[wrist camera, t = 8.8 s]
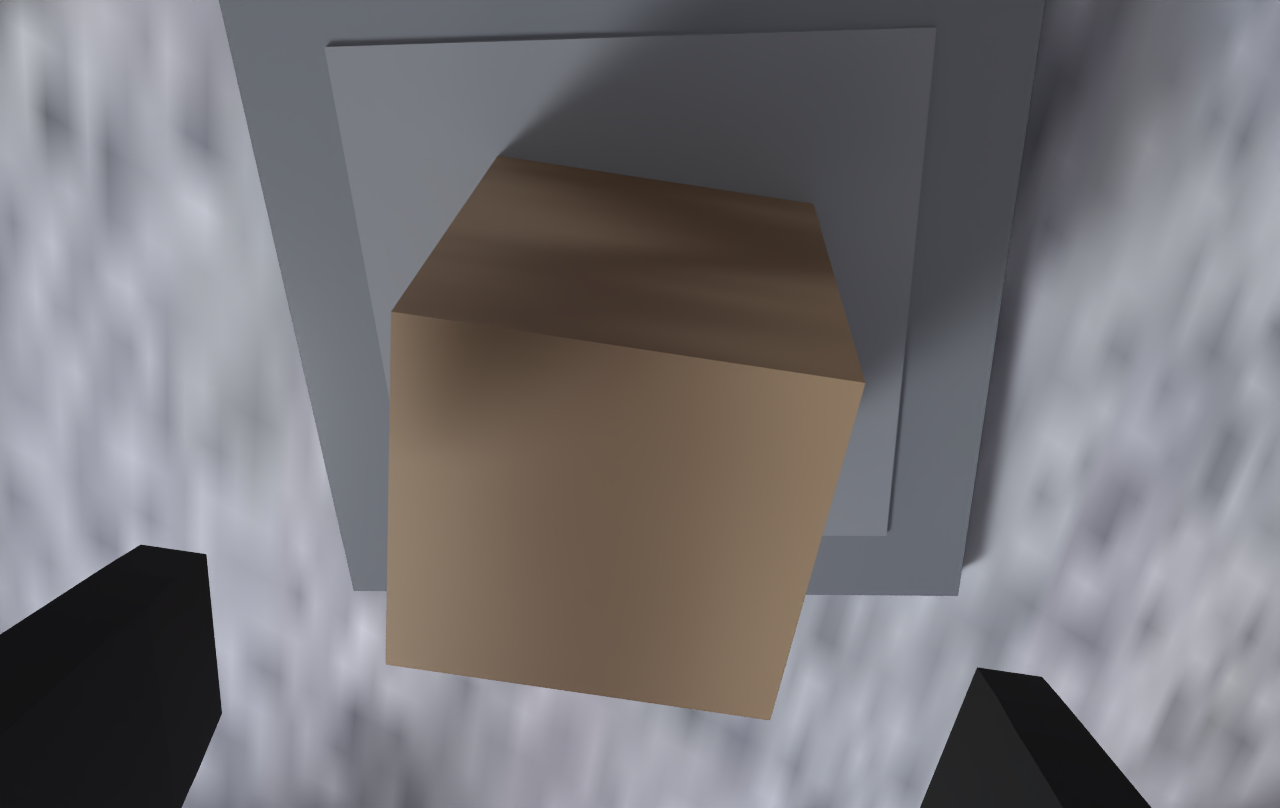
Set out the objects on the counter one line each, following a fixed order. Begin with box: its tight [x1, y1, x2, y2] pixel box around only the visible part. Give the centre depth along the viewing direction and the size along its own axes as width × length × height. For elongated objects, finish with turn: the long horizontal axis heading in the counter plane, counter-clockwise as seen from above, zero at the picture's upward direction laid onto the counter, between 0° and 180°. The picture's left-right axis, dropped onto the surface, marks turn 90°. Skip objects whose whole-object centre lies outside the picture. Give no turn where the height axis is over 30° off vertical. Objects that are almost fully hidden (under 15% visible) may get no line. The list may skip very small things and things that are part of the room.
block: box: [386, 156, 865, 720], centre depth 14 cm, size 5×5×6 cm
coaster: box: [219, 0, 1045, 596], centre depth 17 cm, size 12×12×1 cm
